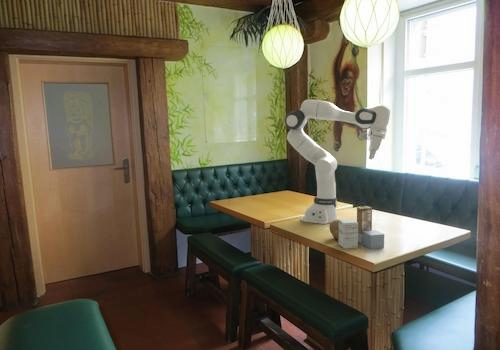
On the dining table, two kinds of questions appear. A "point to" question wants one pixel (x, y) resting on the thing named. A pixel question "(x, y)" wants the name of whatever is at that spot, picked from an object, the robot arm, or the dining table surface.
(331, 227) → the natural sponge
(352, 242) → the supplement box
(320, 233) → the dining table surface
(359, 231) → the frame block
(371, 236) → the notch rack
